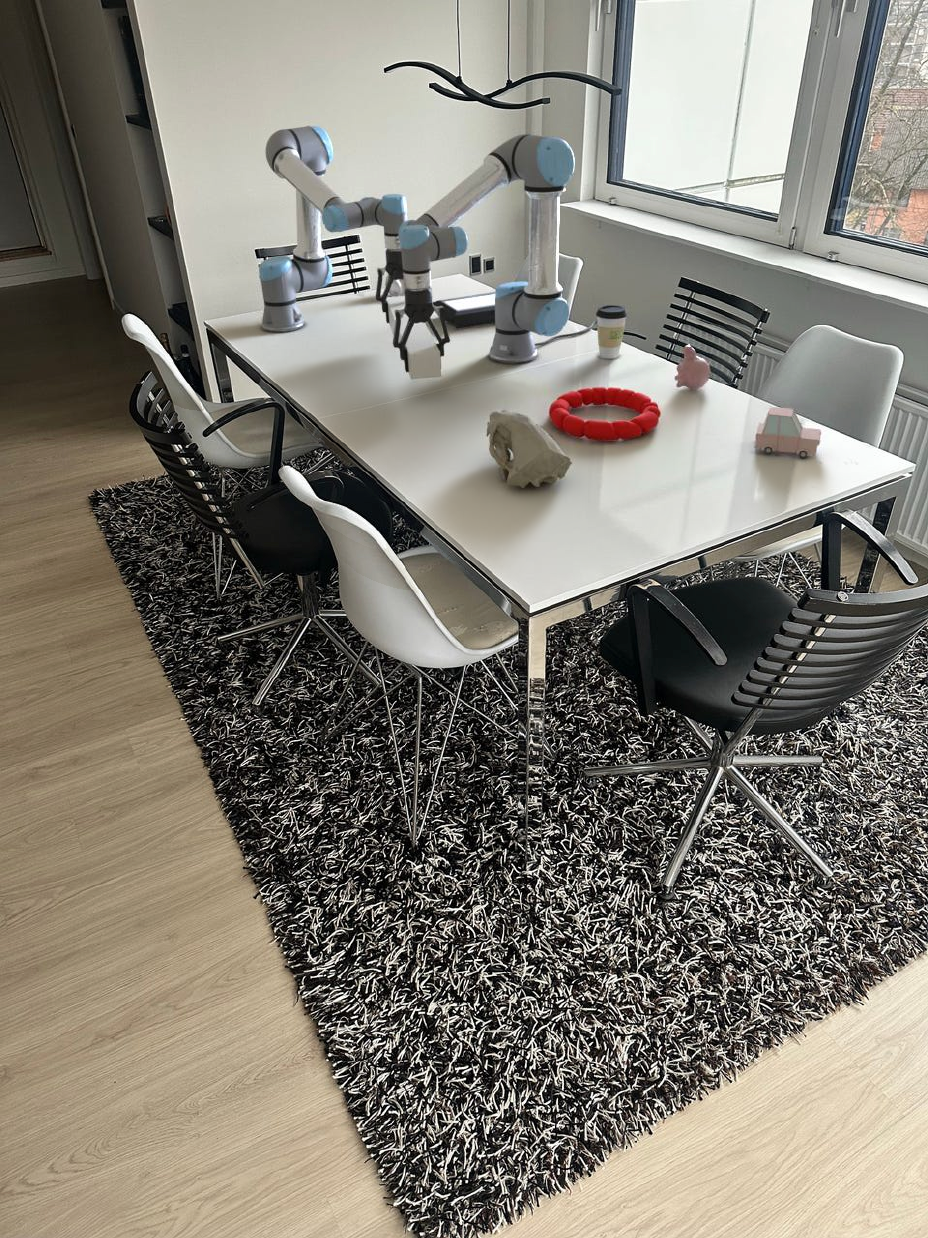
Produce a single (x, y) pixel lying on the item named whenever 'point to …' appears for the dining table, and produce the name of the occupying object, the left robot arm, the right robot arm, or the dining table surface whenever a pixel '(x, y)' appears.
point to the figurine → (692, 370)
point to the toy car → (786, 434)
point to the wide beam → (416, 343)
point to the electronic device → (469, 310)
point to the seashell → (396, 287)
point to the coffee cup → (610, 329)
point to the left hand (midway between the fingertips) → (401, 320)
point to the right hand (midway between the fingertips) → (423, 368)
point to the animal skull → (525, 450)
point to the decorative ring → (604, 428)
